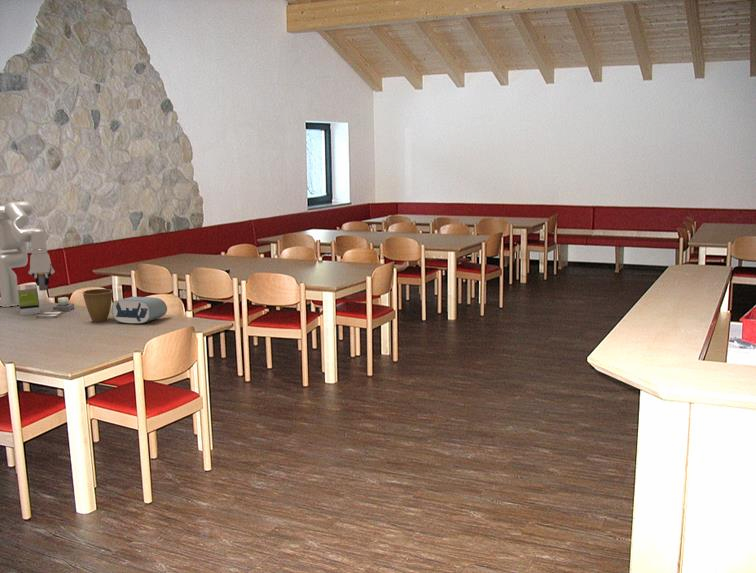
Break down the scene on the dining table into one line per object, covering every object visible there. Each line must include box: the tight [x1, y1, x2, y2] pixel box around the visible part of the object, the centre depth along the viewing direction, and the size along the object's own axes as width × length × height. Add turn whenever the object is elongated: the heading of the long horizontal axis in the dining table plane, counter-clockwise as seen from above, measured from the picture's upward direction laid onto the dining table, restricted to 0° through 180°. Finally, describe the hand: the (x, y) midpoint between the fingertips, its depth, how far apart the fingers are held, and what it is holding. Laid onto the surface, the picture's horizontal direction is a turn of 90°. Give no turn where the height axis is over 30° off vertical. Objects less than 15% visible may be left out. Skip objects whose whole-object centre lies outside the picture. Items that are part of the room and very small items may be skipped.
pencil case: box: [111, 296, 168, 324], centre depth 405 cm, size 22×19×13 cm
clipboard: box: [35, 309, 65, 319], centre depth 423 cm, size 14×11×1 cm
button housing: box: [52, 302, 75, 312], centre depth 436 cm, size 9×9×3 cm
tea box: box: [18, 283, 41, 316], centre depth 431 cm, size 15×10×15 cm, turn 25°
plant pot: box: [82, 288, 113, 323], centre depth 406 cm, size 15×15×16 cm
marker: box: [37, 273, 48, 292], centre depth 418 cm, size 4×4×11 cm
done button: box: [57, 296, 69, 306], centre depth 435 cm, size 5×5×4 cm
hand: (42, 284), depth 418 cm, fingers closed on marker, 4 cm apart
